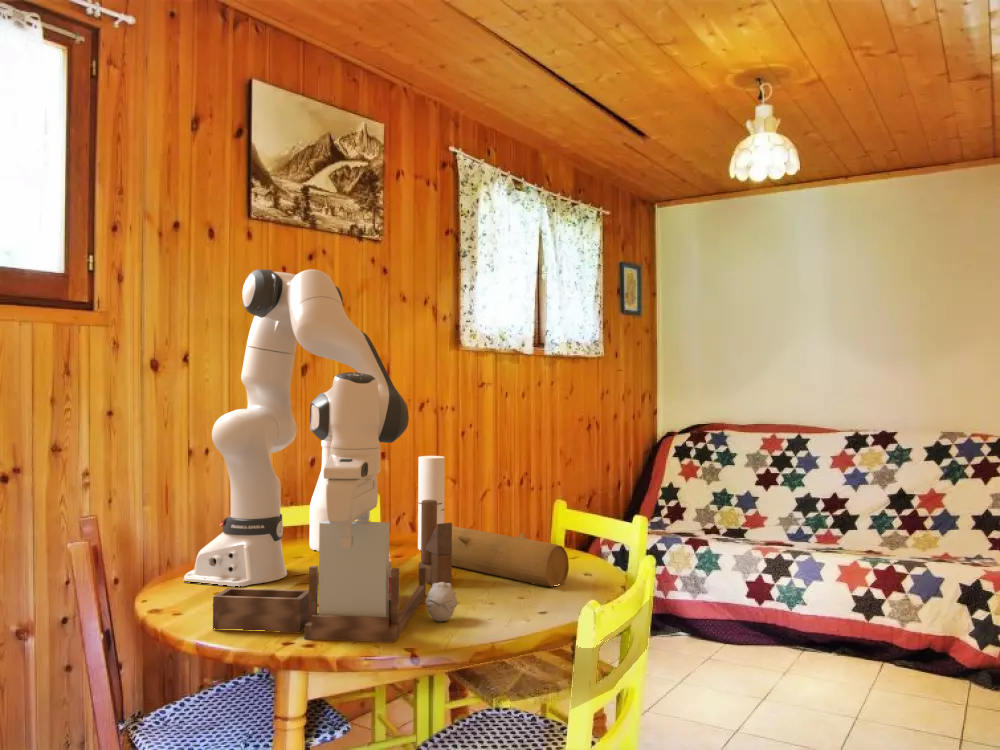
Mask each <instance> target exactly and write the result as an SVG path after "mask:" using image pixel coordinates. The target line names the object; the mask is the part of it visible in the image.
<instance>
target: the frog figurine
mask: <svg viewBox="0 0 1000 750" xmlns="http://www.w3.org/2000/svg"><path fill="white" fill-rule="evenodd" d="M424 603H425V606H426V607H427V612H428V614H429V616H430V617H431V618H432V619H433V620H435V622H436V621H437V622H445V621H448V620H449V619H450V618H451V617H452V616H453V614H454V612H455V609H456V607H457V606H458V598H457V597H456V591H455V590H454V588H453V587H452V583H451V584H450V583H445V582H439V583H434V584H433V585H432V584H431V588H430V589H429V591H428V593H427V597H425V602H424Z"/></svg>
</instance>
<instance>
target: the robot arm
mask: <svg viewBox="0 0 1000 750" xmlns="http://www.w3.org/2000/svg"><path fill="white" fill-rule="evenodd" d="M241 292H242V294H241V295H242V297H241V298H242V305H243V306H244V308H245V311H246V312H247V313H249V314H250V315H253V316H254V317H253V319H252V322H251V325H250V329H249V333H248V336H247V341H246V346H245V352H244V357H243V364H242V369H241V373H240V374H241V375H240V378H241V383H242V385H244V388H245V391H246V397H247V407H246V408H239V409H238V408H237V409H235V410H232V411H229V412H226V413H225V414H223V415H221V416H220V417H219V418H218V419H217V420H216V421H215V422H214V424H213V427H212V430H211V439H212V443H213V445H214V447H215V449H216V450H217V451H218V452H219V453H220V454H221V455H222V457H223V459H224V460H223V461H224V464H225V466H226V469H227V473H228V479H229V485H230V515H228V517H225V518H224V519H223V520H221V521H219V523H220V524H219V527H222V532H221V533H220V534H218V535H217V536H216V537H215V538H214V539H213V540H211V541H210V542H209V543H207V544H206V545H204V547H202V548H201V549H200V550H199V551H198V553H197V556H196V557H195V558H196V559H195V564H194V568H193V569H192V570H190V571H188V572H186V574H184V576H183V581H184V580H185V581H193V582H202V583H211V584H210V585H212V584H218V585H217V586H223V585H227V587H235V586H238V587H237V588H241V587H246V586H251V585H257V584H262V583H269V582H274V581H278V580H280V579H283V578H286V576H288V571H287V569H286V564H285V561H284V555H283V545H282V538H283V533H284V532H283V531H284V528H283V527H284V524H283V523H284V522H283V514H282V513H281V505H282V504H281V501H282V499H281V498H282V497H281V494H282V492H281V491H282V489H281V488H282V486H281V485H282V484H281V480H280V478H279V476H277V474H276V472H275V470H274V467H273V463H272V459H271V454H274V453H278V452H281V451H282V450H284V449H286V448H287V447H289V446H290V445H291V444H292V443H293V442H294V441H295V439H296V437H297V433H298V427H297V422H296V420H295V418H294V416H293V412H292V403H291V383H292V378H293V377H292V376H293V370H294V364H295V358H296V351H297V345H298V344H299V345H300V347H302V348H303V349H304V350H305V351H307V352H308V353H310V354H312V355H314V356H317V357H320V358H325V359H328V360H332V361H336V362H338V363H341V364H344V365H346V366H349V368H352V369H353V370H355V371H356V372H341V373H338V374H336V375H335V376H334V377H333V381H332V385H331V387H330V389H328V390H327V391H325V392H321V393H319V394H318V395H317V396H316V397H315V398H314V399H313V400H312V402H311V403H310V405H309V429H310V431H311V432H312V434H314V436H316V437H317V438H318V439H319V440H320V441H322V440H323V441H327V442H331V445H330V456H329V460H328V462H327V463H326V465H325V466H324V469H323V476H324V478H325V479H328V481H327V484H326V503H327V516H328V520H329V523H330V524H332V525H338V530H339V534H340V538H341V547H342V548H350V547H351V546H352V545H353V536H352V530H351V528H352V522H370V517H371V516H370V513H371V511H372V510H374V509H375V508H377V505H378V500H379V499H378V497H379V496H378V495H379V494H378V491H379V490H378V489H379V488H378V476H377V475H379V474H380V473H381V443H389V444H391V443H394V442H395V441H396V440H398V439H399V438H400V437H401V436H402V435H403V434H404V433H405V431H406V430H407V428H408V426H409V421H410V416H409V409H408V405H407V403H406V401H405V399H404V397H402V395H401V393H400V392H399V391H398V390H397V388H396V387H395V386H394V383H393V381H392V379H391V378H390V375H389V374H388V371H387V369H386V367H385V365H384V364H383V360H382V359H381V357H380V355H379V353H378V351H377V349H376V348H375V346H374V343H373V342H372V340H371V339H370V337H369V335H368V334H367V333H366V332H364V331H362V330H361V329H359V328H358V327H357V326H356V325H355V324H354V323H353V322H352V321H351V320H350V318H349V316H348V315H347V314H346V311H345V308H344V300H343V299H344V298H343V294H342V292H341V290H340V288H339V286H337V285H335V284H334V281H333V280H332V278H331V277H330V275H329V274H327V273H326V272H324V271H322V270H318V269H312V268H310V269H306V270H305V269H304V270H303V271H300V272H298V273H297V274H294V273H290V272H282V271H273V270H272V269H265V268H263V269H255V270H253V271H252V272H251V273H250V274H248V276H247V277H246V280H245V281H244V283H243V287H242V291H241ZM297 343H298V344H297ZM240 586H241V587H240Z"/></svg>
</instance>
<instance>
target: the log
mask: <svg viewBox="0 0 1000 750" xmlns="http://www.w3.org/2000/svg"><path fill="white" fill-rule="evenodd" d="M451 555H452V567H456V568H460V569H465V570H469V571H473V572H477V573H482V574H488V575H492V576H496V577H502V578H505V579H509V578H510V579H511V580H514V581H519V582H523V583H527V582H528V584H532V583H533V584H532V585H537V584H538V586H542V585H543V587H547V586H551V587H550V588H554V587H553V586H554V585H558V584H562V585H563V584H564V582H566V579H567V577H568V574H569V567H570V564H569V563H570V562H569V556H568V553H567V551H566V549H565V548H564V547H563V546H562V545H559V544H556V543H551V542H546V541H541V540H535V539H530V538H527V537H526V534H524V533H523V532H521V533H520V534H519V536H512V535H505V534H499V533H493V532H489V531H483V530H478V529H472V528H465V527H460V526H453V525H452V554H451Z"/></svg>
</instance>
